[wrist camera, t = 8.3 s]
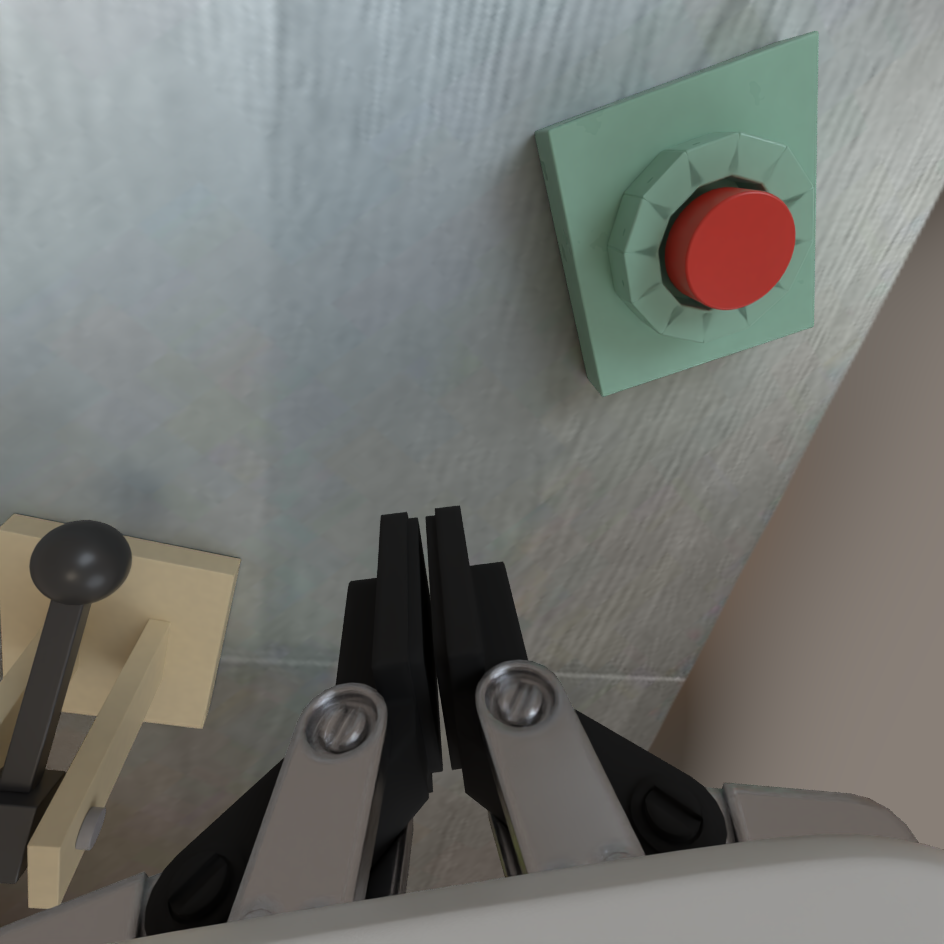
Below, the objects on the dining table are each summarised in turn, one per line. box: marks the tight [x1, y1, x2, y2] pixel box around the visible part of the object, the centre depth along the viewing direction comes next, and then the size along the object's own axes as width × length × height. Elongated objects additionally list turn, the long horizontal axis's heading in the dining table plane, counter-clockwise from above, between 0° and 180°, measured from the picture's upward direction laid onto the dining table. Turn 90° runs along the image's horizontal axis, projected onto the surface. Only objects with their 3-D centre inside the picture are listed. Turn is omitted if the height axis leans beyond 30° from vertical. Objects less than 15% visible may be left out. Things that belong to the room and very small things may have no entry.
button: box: [665, 187, 796, 310], centre depth 18 cm, size 4×4×2 cm
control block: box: [535, 31, 818, 397], centre depth 20 cm, size 10×9×4 cm
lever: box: [0, 520, 132, 884], centre depth 21 cm, size 13×3×3 cm, turn 160°
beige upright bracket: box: [0, 514, 241, 909], centre depth 24 cm, size 12×10×12 cm
